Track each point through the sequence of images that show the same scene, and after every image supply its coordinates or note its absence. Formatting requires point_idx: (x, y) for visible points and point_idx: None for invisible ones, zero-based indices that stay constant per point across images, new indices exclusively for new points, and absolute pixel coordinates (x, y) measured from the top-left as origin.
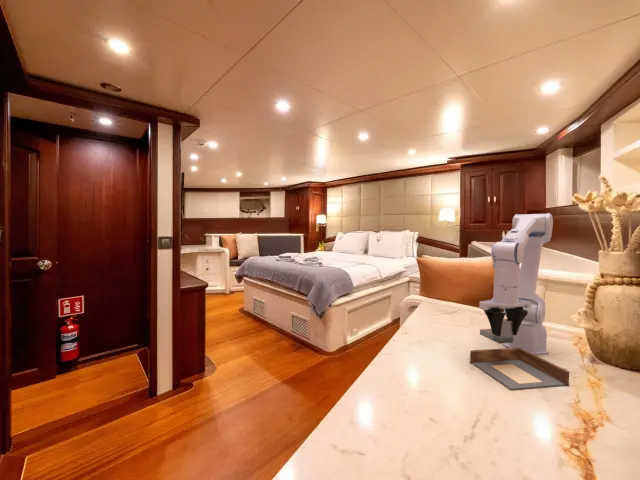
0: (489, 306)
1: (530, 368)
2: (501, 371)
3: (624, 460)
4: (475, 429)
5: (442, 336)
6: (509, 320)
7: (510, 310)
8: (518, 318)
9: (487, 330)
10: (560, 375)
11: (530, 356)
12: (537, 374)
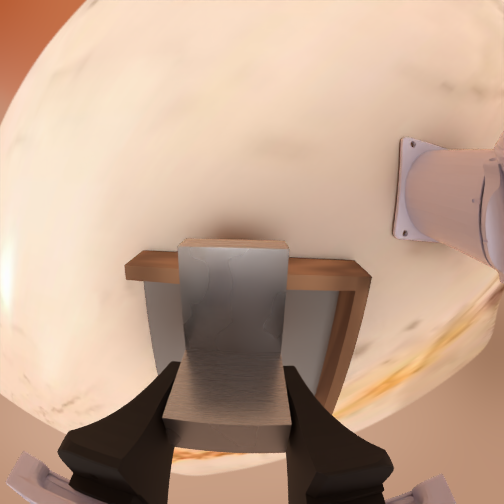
0: (73, 501)
1: (313, 332)
2: None
3: (201, 472)
4: (65, 408)
5: (208, 11)
6: (264, 447)
7: (301, 492)
8: (288, 485)
9: (215, 274)
10: (320, 399)
11: (342, 331)
12: (295, 361)
